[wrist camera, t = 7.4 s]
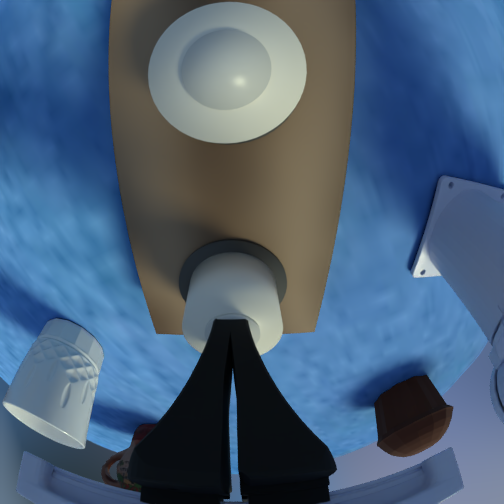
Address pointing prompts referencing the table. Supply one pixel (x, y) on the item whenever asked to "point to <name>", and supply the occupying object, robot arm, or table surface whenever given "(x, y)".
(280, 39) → the knob middle
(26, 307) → the table surface
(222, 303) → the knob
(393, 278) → the table surface
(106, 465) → the brown ceramic rounded pot
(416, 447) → the muffin
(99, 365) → the white cup
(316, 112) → the knob strip
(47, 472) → the robot arm
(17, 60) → the table surface
